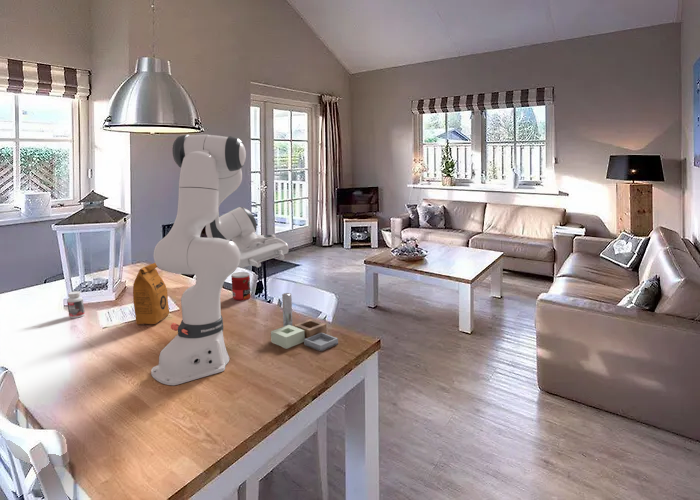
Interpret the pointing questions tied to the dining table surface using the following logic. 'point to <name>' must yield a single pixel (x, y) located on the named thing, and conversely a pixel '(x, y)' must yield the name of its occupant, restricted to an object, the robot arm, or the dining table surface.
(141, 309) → the coffee package
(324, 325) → the brown wooden square frame
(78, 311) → the pill bottle
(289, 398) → the dining table surface
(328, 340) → the tray
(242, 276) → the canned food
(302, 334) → the sage block
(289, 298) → the cylinder
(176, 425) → the dining table surface
